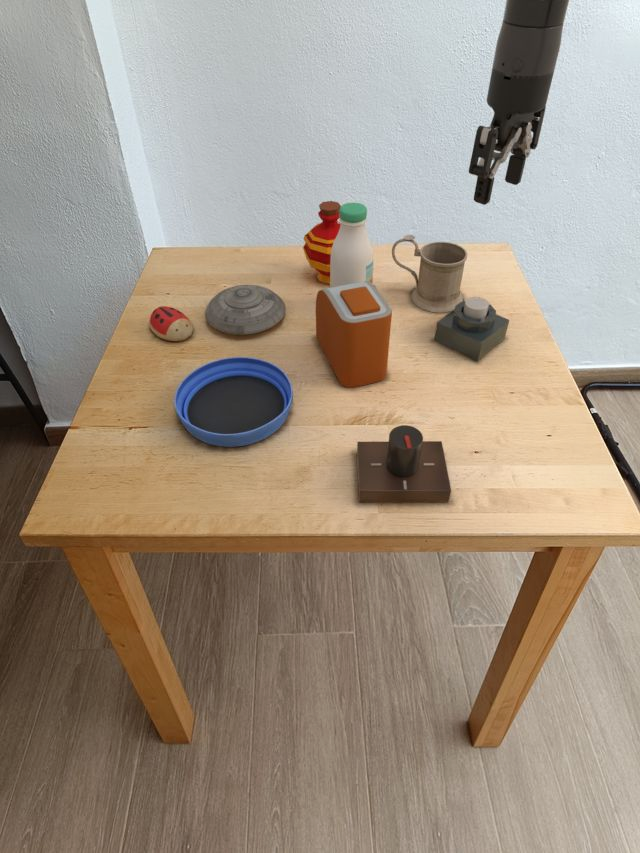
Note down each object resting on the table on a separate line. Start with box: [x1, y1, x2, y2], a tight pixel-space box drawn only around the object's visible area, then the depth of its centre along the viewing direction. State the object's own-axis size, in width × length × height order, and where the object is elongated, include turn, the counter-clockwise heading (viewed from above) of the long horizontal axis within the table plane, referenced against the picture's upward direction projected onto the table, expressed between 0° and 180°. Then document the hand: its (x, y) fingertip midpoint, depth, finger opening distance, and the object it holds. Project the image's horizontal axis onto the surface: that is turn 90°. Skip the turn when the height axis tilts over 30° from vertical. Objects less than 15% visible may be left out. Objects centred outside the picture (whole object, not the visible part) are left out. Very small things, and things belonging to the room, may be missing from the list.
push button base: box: [433, 300, 510, 363], centre depth 101 cm, size 9×9×6 cm
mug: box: [391, 234, 468, 314], centre depth 109 cm, size 14×10×12 cm
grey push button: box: [463, 296, 490, 319], centre depth 99 cm, size 4×4×2 cm
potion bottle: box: [302, 200, 342, 285], centre depth 114 cm, size 10×10×15 cm
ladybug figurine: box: [149, 305, 194, 342], centre depth 106 cm, size 7×10×4 cm
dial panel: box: [356, 440, 452, 503], centre depth 80 cm, size 12×9×3 cm
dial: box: [386, 424, 424, 477], centre depth 78 cm, size 4×4×6 cm
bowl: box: [173, 356, 294, 448], centre depth 90 cm, size 18×18×4 cm
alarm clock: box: [315, 281, 393, 388], centre depth 95 cm, size 15×8×14 cm, turn 18°
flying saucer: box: [204, 284, 287, 336], centre depth 108 cm, size 15×15×6 cm
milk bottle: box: [329, 202, 374, 288], centre depth 104 cm, size 8×8×20 cm
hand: (496, 192), depth 84 cm, fingers open, 8 cm apart
